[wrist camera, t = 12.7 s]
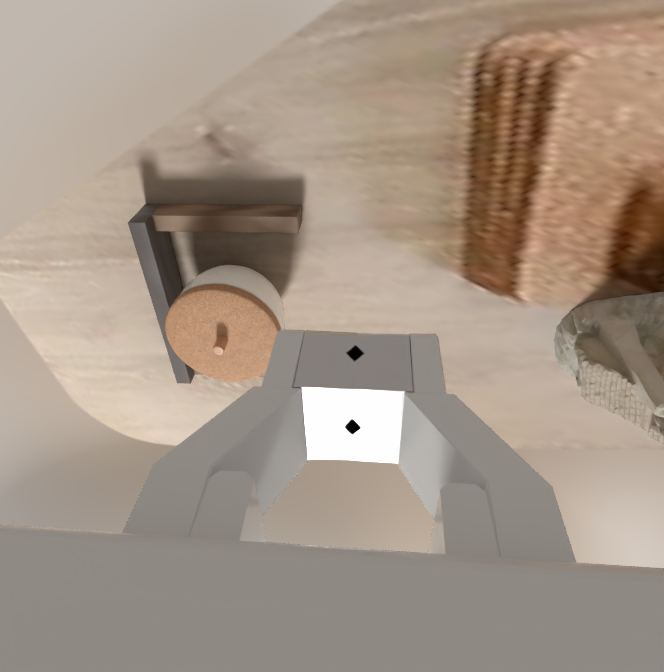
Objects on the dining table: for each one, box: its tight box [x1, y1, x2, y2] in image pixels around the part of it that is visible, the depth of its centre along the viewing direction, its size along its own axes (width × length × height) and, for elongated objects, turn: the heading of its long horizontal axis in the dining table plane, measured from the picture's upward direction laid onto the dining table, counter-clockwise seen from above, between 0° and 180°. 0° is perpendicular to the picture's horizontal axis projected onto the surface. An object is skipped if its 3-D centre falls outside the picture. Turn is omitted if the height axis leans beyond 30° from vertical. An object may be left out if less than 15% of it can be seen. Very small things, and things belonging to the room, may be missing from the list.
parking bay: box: [128, 204, 302, 384], centre depth 49 cm, size 14×19×4 cm
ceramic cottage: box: [554, 292, 664, 443], centre depth 46 cm, size 16×16×15 cm
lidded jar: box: [165, 265, 285, 381], centre depth 47 cm, size 11×11×9 cm
